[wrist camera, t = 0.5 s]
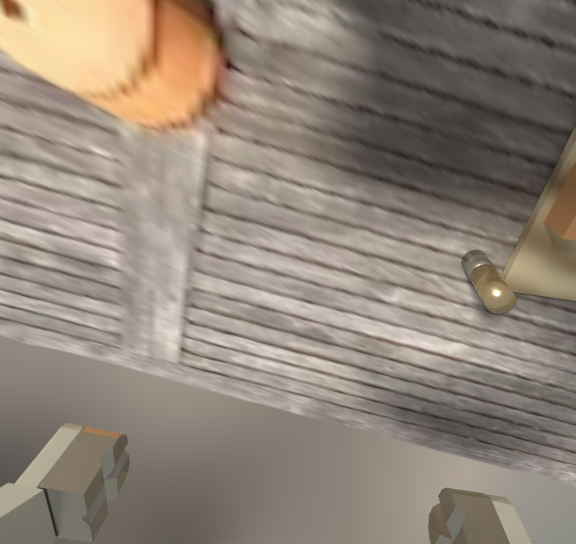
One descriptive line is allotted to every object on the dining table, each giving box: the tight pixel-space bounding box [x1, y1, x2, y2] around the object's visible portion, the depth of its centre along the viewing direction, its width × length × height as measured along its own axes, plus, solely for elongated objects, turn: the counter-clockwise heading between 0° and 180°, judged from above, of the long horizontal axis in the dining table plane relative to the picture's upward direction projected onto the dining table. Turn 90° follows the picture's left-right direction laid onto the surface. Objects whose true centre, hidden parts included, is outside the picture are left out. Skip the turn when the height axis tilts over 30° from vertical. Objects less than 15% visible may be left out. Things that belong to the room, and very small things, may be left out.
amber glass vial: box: [461, 250, 517, 314], centre depth 41 cm, size 3×3×9 cm
